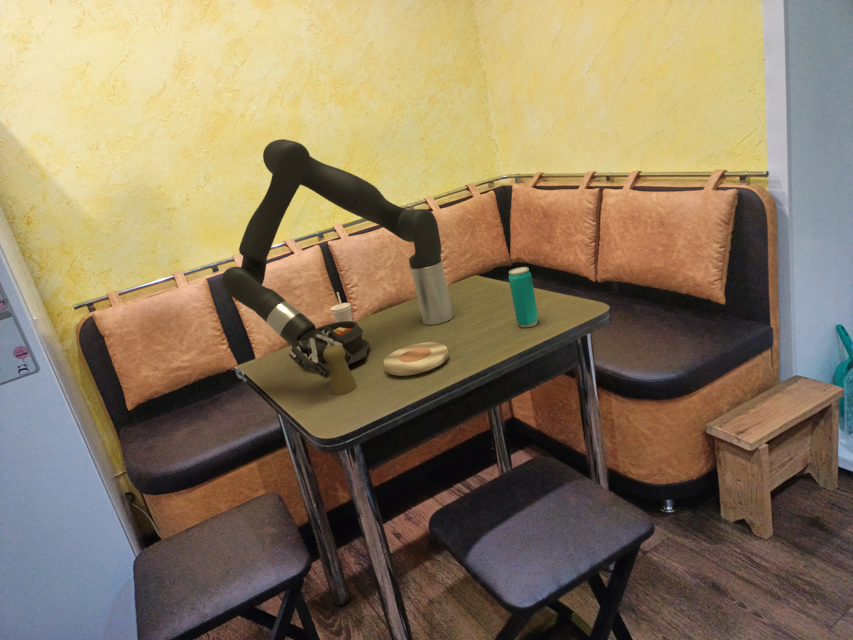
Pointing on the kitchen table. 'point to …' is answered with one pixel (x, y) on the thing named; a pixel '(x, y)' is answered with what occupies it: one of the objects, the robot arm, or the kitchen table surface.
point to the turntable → (416, 358)
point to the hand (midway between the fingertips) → (340, 367)
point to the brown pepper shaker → (339, 370)
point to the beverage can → (523, 297)
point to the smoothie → (342, 311)
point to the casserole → (348, 340)
